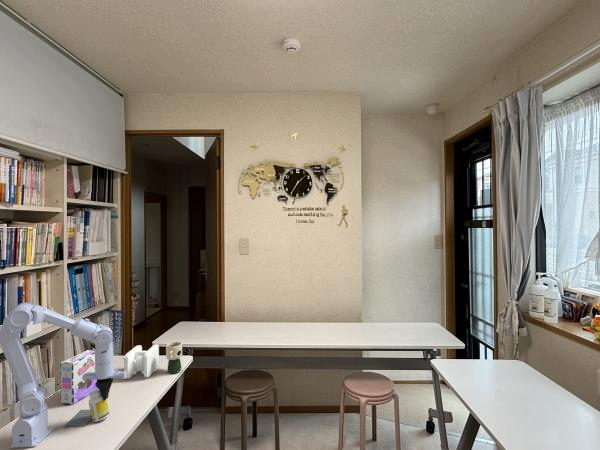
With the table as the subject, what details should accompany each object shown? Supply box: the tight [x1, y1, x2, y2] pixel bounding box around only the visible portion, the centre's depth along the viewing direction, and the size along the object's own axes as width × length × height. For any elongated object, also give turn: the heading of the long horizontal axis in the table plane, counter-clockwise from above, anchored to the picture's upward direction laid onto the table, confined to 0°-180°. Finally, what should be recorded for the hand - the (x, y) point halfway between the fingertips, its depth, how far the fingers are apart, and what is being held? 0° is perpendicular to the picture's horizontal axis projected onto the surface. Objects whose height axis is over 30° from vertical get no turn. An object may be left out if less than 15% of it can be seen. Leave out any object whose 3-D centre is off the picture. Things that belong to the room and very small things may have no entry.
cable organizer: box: [122, 343, 160, 379], centre depth 161 cm, size 15×11×12 cm
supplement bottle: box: [88, 389, 110, 423], centre depth 124 cm, size 5×5×10 cm
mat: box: [64, 409, 93, 428], centre depth 125 cm, size 10×7×1 cm
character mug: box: [165, 341, 183, 374], centre depth 163 cm, size 11×7×13 cm, turn 1°
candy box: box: [59, 349, 98, 406], centre depth 141 cm, size 14×6×16 cm, turn 168°
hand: (105, 398), depth 124 cm, fingers closed
